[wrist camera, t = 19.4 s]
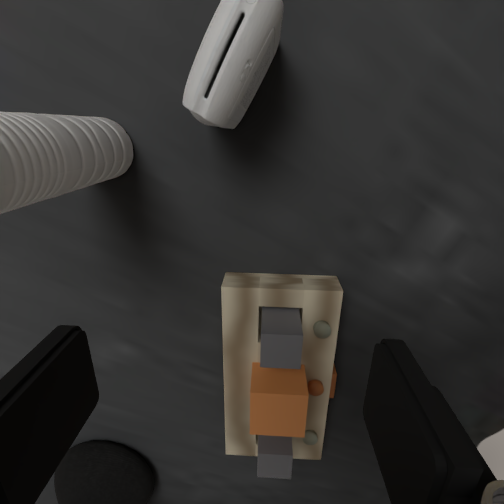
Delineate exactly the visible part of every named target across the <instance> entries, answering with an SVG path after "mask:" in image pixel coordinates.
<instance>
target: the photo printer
mask: <svg viewBox="0 0 504 504" xmlns="http://www.w3.org/2000/svg"><path fill="white" fill-rule="evenodd" d="M283 7H284V5H283V1H282V0H221V2H220V4H219V6H218V8H217V10H216V12H215V14H214V16H213V18H212V20H211V22H210V25H209V27H208V29H207V31H206V34H205V36H204V38H203V40H202V43H201V45H200V48H199V50H198V53H197V55H196V58H195V60H194V63H193V66H192V68H191V71H190V74H189V77H188V80H187V83H186V86H185V90H184V96H183V105H184V106H185V107H186V108H188V109H189V110H190V112H191V113H192V115H193V116H194V117H195V118H196V119H197V120H198V121H200V122H201V123H203V124H205V125H210V126H218V127H221V128H229V129H234V128H235V127H236V126H237V125H238V124H239V122H240V121H241V119H242V118H243V116H244V114H245V112H246V111H247V109H248V107H249V105H250V103H251V102H252V100H253V98H254V96H255V94H256V92H257V90H258V88H259V86H260V84H261V82H262V80H263V78H264V77H265V75H266V73H267V70H268V68H269V66H270V64H271V62H272V60H273V58H274V56H275V53H276V51H277V48H278V45H279V41H280V33H281V24H282V15H283Z"/></svg>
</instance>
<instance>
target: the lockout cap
mask: <svg viewBox="0 0 504 504" xmlns="http://www.w3.org/2000/svg"><path fill="white" fill-rule="evenodd" d="M308 398H309V394H308V387H307V380H306V373H305V366H304V365H301V368H300V369H284V368H263V367H260V363H259V362H252V375H251V388H250V434H251V435H268V436H285V437H302V438H304V437H305V427H306V418H307V408H308Z"/></svg>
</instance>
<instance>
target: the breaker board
mask: <svg viewBox="0 0 504 504" xmlns="http://www.w3.org/2000/svg"><path fill="white" fill-rule="evenodd" d="M221 292H222V330H223V367H224V405H225V442H226V454H230V455H246V456H258V435H251V434H250V388H251V375H252V362H259V363H260V351H261V322H262V306H265V307H290V308H299V312H300V318H301V324H302V331H303V345H302V356H301V365H304V366H305V373H306V380H307V387H308V394H309V398H308V408H307V418H306V427H305V437H304V438H302V437H292V449H293V458H295V459H312V460H321V454H322V447H323V439H324V432H325V424H326V417H327V409H328V402H329V398H334V392H335V385H336V377H337V373H336V369H335V365H334V357H335V350H336V342H337V335H338V327H339V320H340V312H341V305H342V297H343V290H342V287H341V285H340V283H339V281H338V278H337V276H321V275H292V274H263V273H234V272H226V273H225V277H224V280H223V283H222V286H221Z"/></svg>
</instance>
